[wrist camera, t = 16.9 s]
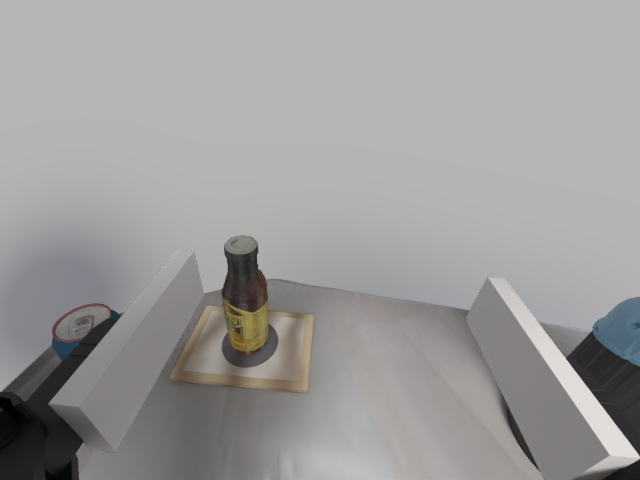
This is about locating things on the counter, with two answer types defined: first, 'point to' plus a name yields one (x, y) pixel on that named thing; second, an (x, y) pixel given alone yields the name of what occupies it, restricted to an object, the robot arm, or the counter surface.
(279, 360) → the wooden picture frame
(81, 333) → the soda can
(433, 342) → the counter surface
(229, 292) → the sauce bottle
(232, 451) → the counter surface
